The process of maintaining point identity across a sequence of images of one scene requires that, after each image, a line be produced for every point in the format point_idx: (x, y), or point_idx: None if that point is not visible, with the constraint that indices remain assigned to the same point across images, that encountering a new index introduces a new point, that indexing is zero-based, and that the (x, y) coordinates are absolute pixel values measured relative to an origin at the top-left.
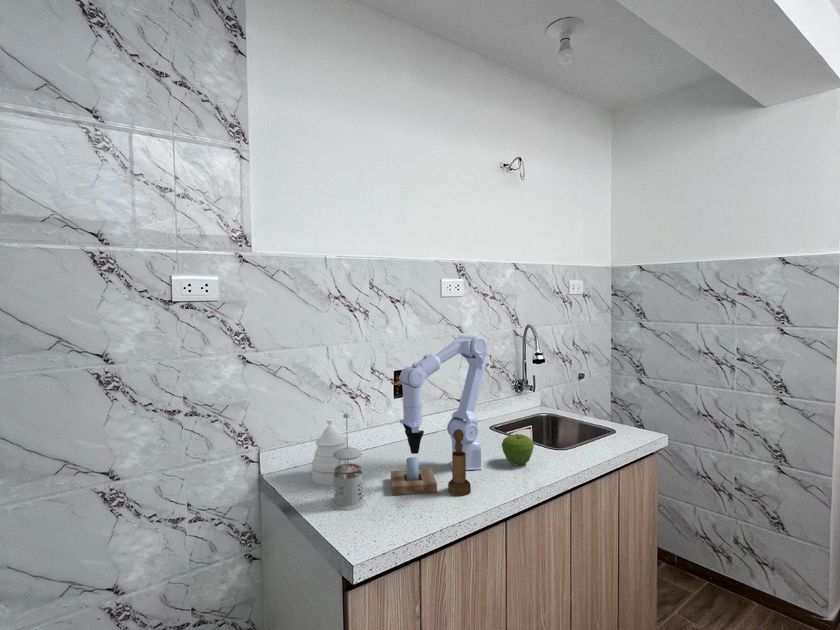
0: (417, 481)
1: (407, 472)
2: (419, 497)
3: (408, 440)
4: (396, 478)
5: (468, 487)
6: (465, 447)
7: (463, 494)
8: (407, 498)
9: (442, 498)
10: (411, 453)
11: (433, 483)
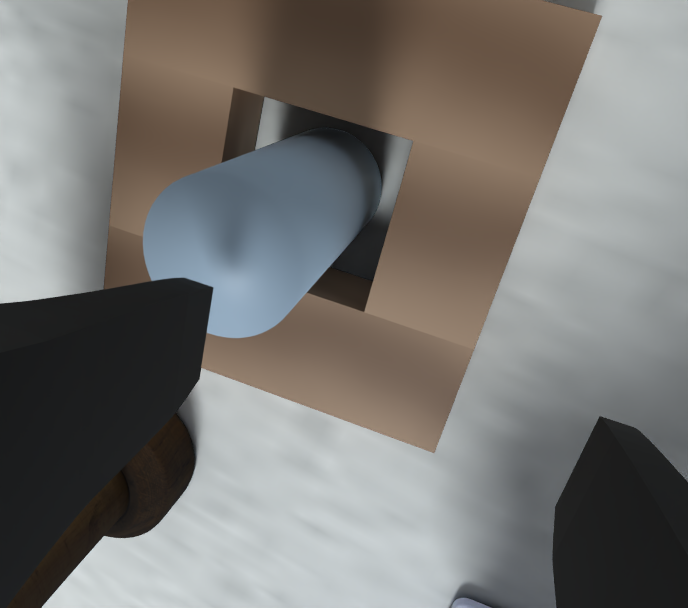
0: None
1: (261, 148)
2: (95, 147)
3: (627, 469)
4: (338, 18)
5: None
6: None
7: None
8: (98, 43)
9: (49, 293)
10: (181, 278)
11: None
